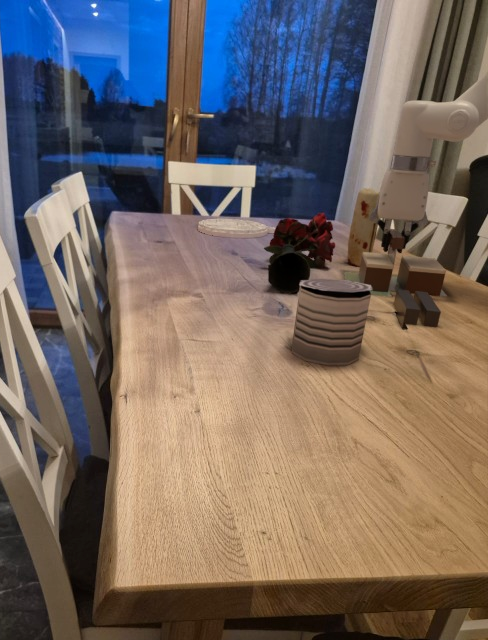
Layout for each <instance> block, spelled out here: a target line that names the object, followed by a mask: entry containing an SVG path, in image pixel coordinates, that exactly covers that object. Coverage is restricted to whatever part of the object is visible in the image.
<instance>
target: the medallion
mask: <svg viewBox="0 0 488 640" xmlns="http://www.w3.org/2000/svg"><path fill="white" fill-rule="evenodd" d="M275 229H276V227H274V226H268V225H266V224H265V223H261V222H259V221H253V220H247V219H237V218H235V219H234V218H206V219H202V220H200V221H198V225H197V231H198V232H199V231H200V233H201V232H202V234H204V233H205V234H204V235H208V236H212V235H213V237H220V238H229V239H230V238H231V239H255V238H263V237H265V236H267V235H268V234H274V231H275Z"/></svg>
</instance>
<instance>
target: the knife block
mask: <svg viewBox="0 0 488 640" xmlns="http://www.w3.org/2000/svg"><path fill="white" fill-rule="evenodd" d="M393 306H394V308H395V311H394V313H395V315H396V318H397V319H398V322H399V324H400V326H401V328H402V329H404V330H405V329H406V330H408V326H407V325H412V326H413V325H414V326H416V325H418V321H419V320H420V322H421V324H422V325H423V326H424V327H434V328H438V325H439V322H440V319H441V313H442V311H441V310H440V308H439V306H438V305H437V304H436V302H435V301H434V300H433V298H432V296H431V295H429V294H428V292H420V291H415V294H411V293H410V291H409V290H399V289H397V291H395V296H394V301H393Z"/></svg>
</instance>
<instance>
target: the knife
mask: <svg viewBox="0 0 488 640" xmlns="http://www.w3.org/2000/svg"><path fill="white" fill-rule="evenodd" d="M401 233H402V232H401V231H400V230H399V229H395V228H390V234H391V237H390V242H389V248H388V251H387V256H388V257H389V259H390V261H391V263H392V264H393V268H394V266H395V261H396V257H397V253H398V251H397V249H402V250H404V249H403V246H404V241H405V238H404V237H403V235H402V234H401ZM393 270H394V269H393ZM393 270H392V273H393ZM392 276H393V274H392V275H391V277H392ZM390 282H391V280H390ZM389 287H390V285H389Z"/></svg>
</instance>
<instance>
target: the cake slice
mask: <svg viewBox="0 0 488 640" xmlns="http://www.w3.org/2000/svg"><path fill="white" fill-rule="evenodd" d="M387 255H388V253H381V252H380V253H379V252H372V253H369V252H363V254H362V259H361V265H360V267H359V272H358V273H359V279H360V283H363V284H368V285H371V287H372V289H373V290H370V291H381V292H388V290H389V285H390V280H391V275H392V276H393V272H392V270H394V267H393V264H392V263H391V261H390V259H389V257H388V256H387Z"/></svg>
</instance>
